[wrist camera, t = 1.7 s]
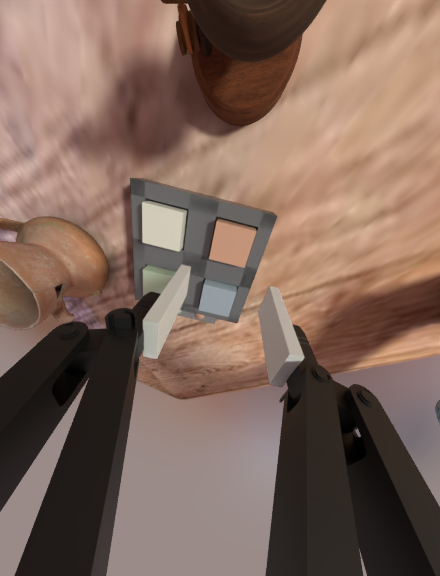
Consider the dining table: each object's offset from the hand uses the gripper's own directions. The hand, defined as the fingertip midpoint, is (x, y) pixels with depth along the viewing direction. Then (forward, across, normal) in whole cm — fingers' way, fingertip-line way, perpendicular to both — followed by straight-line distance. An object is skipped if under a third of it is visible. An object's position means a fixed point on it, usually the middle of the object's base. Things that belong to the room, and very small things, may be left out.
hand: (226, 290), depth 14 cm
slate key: (+14, 0, +10) cm, 17 cm away
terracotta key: (+14, 0, 0) cm, 14 cm away
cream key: (+14, +10, 0) cm, 17 cm away
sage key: (+14, +10, +10) cm, 20 cm away
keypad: (+17, +5, +5) cm, 18 cm away
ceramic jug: (+17, +28, +10) cm, 34 cm away
